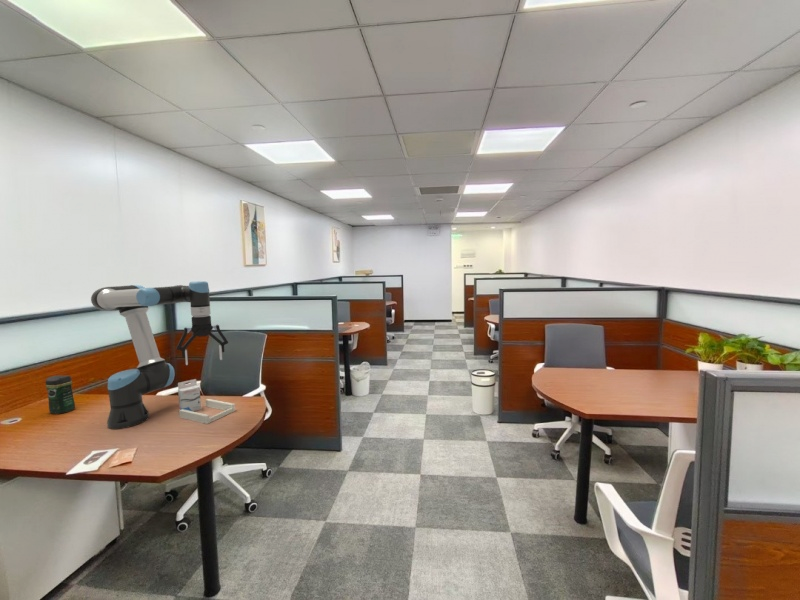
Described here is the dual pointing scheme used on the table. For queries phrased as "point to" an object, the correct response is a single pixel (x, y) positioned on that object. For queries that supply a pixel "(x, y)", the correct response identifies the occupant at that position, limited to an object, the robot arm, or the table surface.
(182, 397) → the ink box
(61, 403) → the coffee jar
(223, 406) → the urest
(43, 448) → the table surface
